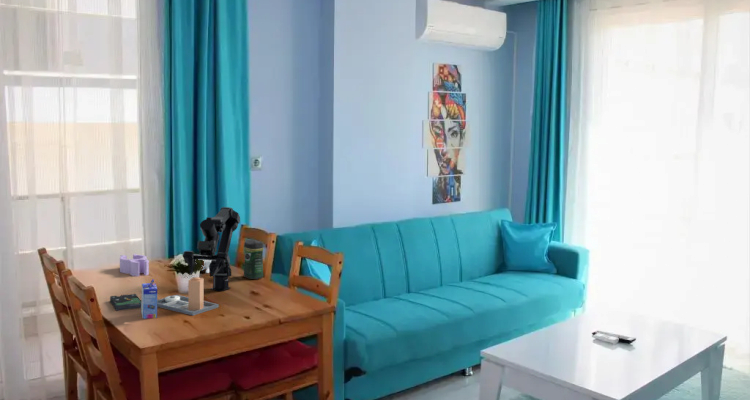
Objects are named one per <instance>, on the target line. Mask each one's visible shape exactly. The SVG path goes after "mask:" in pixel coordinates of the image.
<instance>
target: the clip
mask: <svg viewBox="0 0 750 400" xmlns="http://www.w3.org/2000/svg"><path fill="white" fill-rule="evenodd" d="M149 266H150V261H149V259H148V258H147V255H143V254H137V253H134V254H132V258H131V259H130V258H129V259H128V257H127V255H120V256H119V272H120V273H123V274H127V275H130V276H131V277H140V274H143V275H144V276H149V275H150V273H149V272H150V267H149Z"/></svg>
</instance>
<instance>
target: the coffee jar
mask: <svg viewBox="0 0 750 400" xmlns="http://www.w3.org/2000/svg"><path fill="white" fill-rule="evenodd" d="M243 250H244V265H243V266H244V267H243V276H244V277H245V278H247V279H251V280H253V279H254V280H259V279H258V278H260V279H261V278H264V266H263V265H264V263H263V262H264V261H263V260H264V257H263V255H264V242H263V241H259V240H257V239H246V240H245V241H244V243H243Z"/></svg>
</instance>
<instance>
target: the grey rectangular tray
mask: <svg viewBox="0 0 750 400" xmlns="http://www.w3.org/2000/svg"><path fill="white" fill-rule="evenodd" d="M219 306H220V304H219V303H215V302H211V301H206V300H204V307H203V308H202V309H200V310H196V311H195V310H188V296H184V295H180V294H174V295H167V296H165V297H163V298H160V299H157V308H160V309H166V310H169V311H173V312H178V313H182V314H185V315H188V316H196V315H198V314H202V313H204V312H208V311H211V310H215V309H217V308H219Z"/></svg>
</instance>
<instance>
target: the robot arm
mask: <svg viewBox="0 0 750 400" xmlns="http://www.w3.org/2000/svg"><path fill="white" fill-rule="evenodd" d="M240 223H241V216H240V214H239V212H237V211H235V210H234V208H232V207H229V206H228V207H226V206H223V207H221V208H220V211H218V213H217V214H216V215H215V216H212V217H209V216H208V217H206V219H203V220H202V221H201V222H200V223H199V227H200V231H201V232H202V235H203V237H204V239H203V240H198V241H197V247H196V249H197V250H198V254H196V253H195V252H194V250H185V251H183V253H182V257H183V260H184V262H185V263H186V264H187V265H189V275H190V276H192V275H193V274H194V272H195V271H194V270H195V266H196V262H195V261H196V259H198V260H212V261H211V263H210V265H209V276H210V277H212V287H210V290H214V291H217V292H224V291H227V290H230V289H231V287H230V286H229V282H230V281H229V277H232V269H231V266H230V261H231V258H230V256H229V252H230V251H229V250H230V245H231V241H232V237H233V234H234V232H235V231H236V230H237V229H238V227H239V224H240ZM219 233H221V237H220V234H219ZM218 243H219V245H218ZM217 248H218V249H217ZM216 252H217V253H216Z"/></svg>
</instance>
